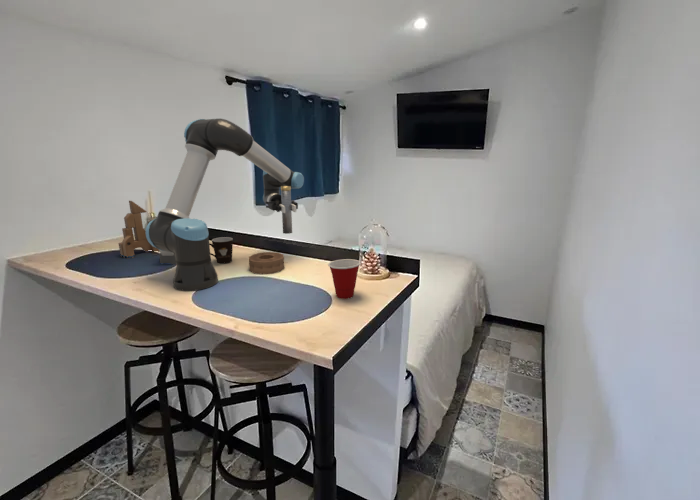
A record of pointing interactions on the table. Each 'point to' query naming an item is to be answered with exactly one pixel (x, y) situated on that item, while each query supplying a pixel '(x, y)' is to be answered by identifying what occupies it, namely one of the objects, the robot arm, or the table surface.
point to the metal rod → (286, 209)
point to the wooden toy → (134, 222)
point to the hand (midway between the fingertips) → (289, 209)
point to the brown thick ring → (266, 263)
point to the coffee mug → (222, 249)
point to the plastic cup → (344, 276)
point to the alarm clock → (167, 257)
